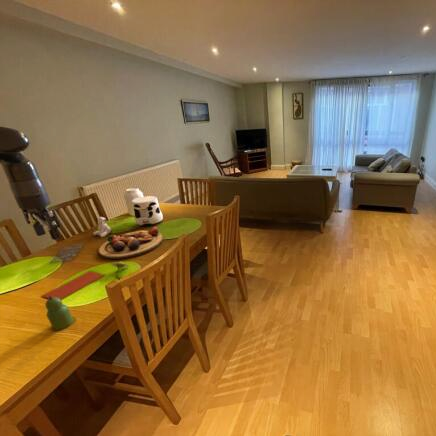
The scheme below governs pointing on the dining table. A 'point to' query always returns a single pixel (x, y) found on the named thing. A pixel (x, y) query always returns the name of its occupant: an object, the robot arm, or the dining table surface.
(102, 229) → the seated beast figurine
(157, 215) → the milk container
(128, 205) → the white vase
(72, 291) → the cloth
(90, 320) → the dining table surface
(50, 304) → the pear
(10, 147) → the robot arm
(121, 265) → the decorative flower
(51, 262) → the rug
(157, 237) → the wooden plate
